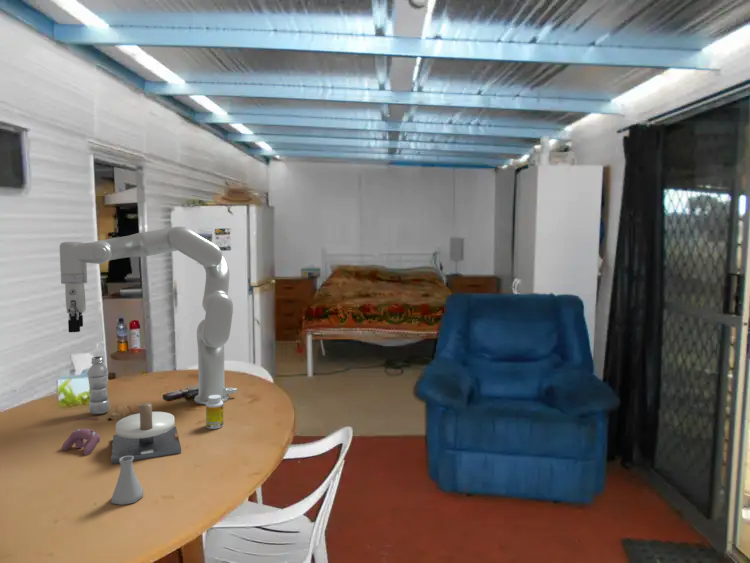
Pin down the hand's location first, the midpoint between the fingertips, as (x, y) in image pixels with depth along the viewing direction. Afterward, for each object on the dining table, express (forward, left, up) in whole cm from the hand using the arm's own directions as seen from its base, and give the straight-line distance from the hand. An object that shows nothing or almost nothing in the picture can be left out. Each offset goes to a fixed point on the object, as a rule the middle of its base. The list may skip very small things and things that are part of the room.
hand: (76, 329), depth 169 cm
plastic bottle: (-6, -2, -31) cm, 32 cm away
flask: (-15, +64, -31) cm, 73 cm away
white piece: (-20, +34, -25) cm, 47 cm away
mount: (-20, +34, -31) cm, 50 cm away
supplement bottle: (-41, +26, -31) cm, 58 cm away
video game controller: (-3, +29, -31) cm, 43 cm away
